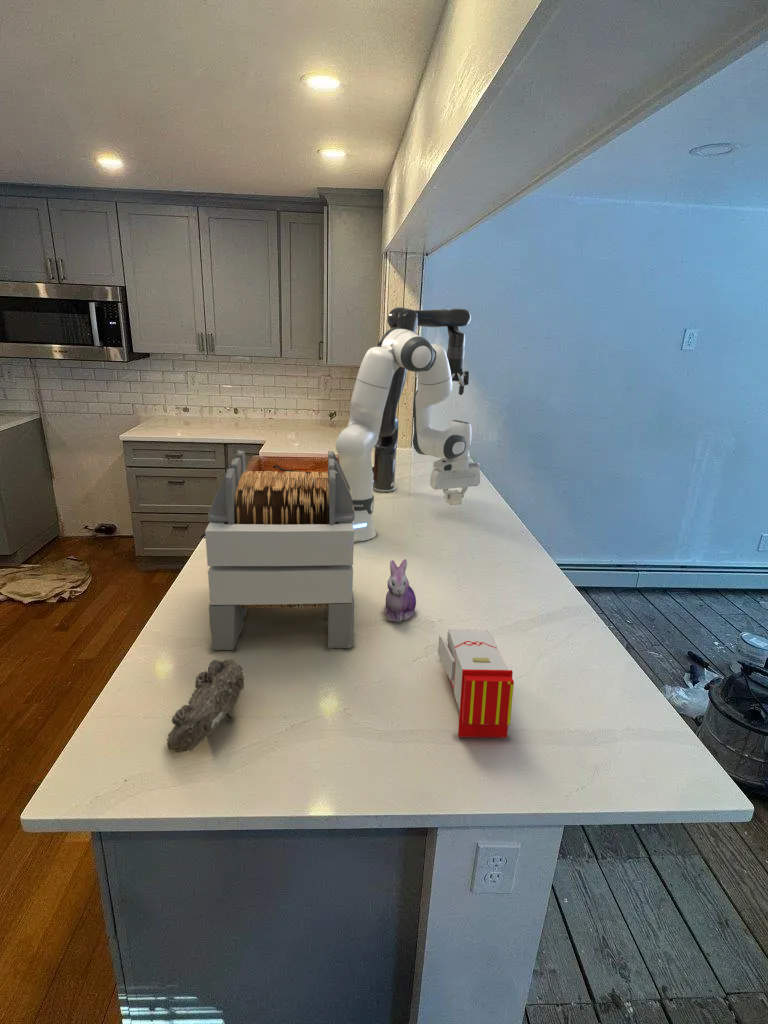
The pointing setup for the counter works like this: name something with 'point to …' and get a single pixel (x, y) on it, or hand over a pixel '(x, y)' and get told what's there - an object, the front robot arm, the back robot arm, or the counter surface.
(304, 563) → the grey record crate stand
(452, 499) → the brick
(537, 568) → the counter surface
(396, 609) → the figurine
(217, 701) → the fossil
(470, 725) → the toy
